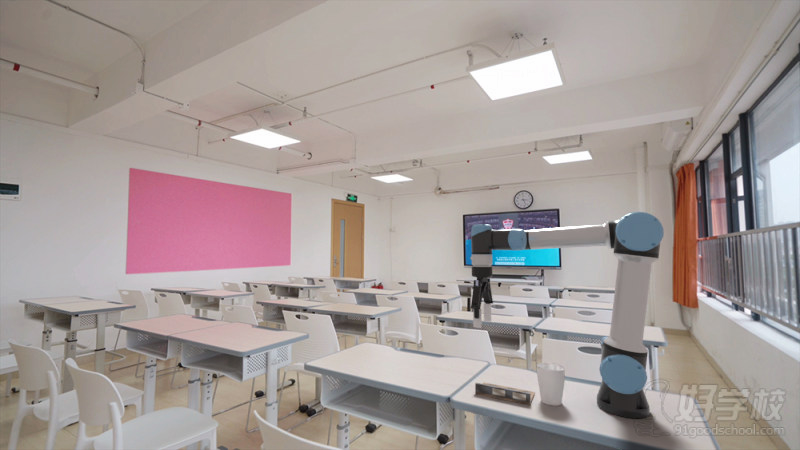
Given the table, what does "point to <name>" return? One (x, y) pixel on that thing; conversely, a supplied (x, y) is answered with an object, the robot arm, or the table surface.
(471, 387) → the table surface
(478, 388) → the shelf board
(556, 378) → the cup
